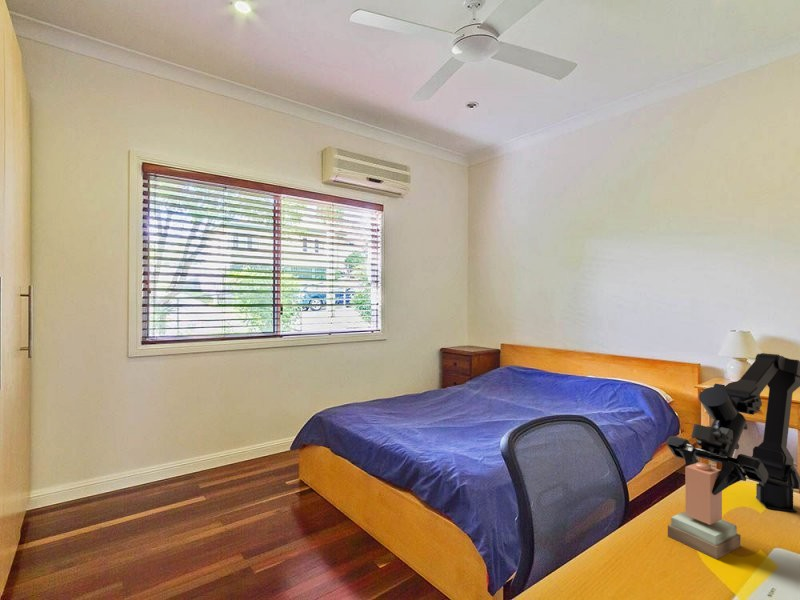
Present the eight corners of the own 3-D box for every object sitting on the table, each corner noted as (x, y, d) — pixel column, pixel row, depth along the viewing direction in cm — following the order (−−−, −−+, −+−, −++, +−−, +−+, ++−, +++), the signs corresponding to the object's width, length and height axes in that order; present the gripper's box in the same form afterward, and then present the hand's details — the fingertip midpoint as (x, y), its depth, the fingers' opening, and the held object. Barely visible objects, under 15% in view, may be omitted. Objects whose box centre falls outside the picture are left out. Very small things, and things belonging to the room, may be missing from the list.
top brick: (697, 509, 99) (697, 459, 99) (722, 519, 94) (721, 466, 94) (685, 514, 96) (685, 463, 96) (710, 524, 92) (709, 470, 92)
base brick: (691, 525, 102) (691, 506, 102) (740, 546, 93) (740, 525, 93) (667, 536, 97) (667, 516, 97) (716, 559, 88) (716, 537, 88)
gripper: (669, 403, 105) (643, 455, 100) (761, 421, 89) (736, 485, 84) (687, 429, 109) (663, 481, 104) (778, 452, 93) (755, 514, 87)
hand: (699, 489), depth 95 cm, fingers closed on top brick, 5 cm apart
